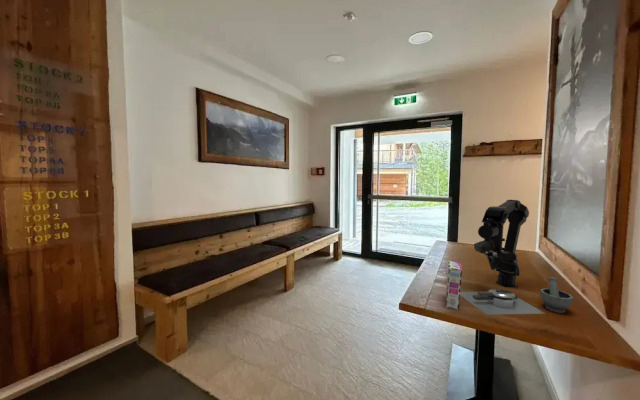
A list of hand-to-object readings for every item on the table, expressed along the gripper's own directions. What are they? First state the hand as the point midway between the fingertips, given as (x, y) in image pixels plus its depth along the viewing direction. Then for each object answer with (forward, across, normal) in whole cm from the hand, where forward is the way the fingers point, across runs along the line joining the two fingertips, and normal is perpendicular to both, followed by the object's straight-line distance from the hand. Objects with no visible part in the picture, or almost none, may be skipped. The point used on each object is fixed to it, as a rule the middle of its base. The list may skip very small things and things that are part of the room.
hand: (492, 269), depth 119 cm
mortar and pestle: (+12, +15, +15) cm, 24 cm away
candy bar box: (+11, +8, -24) cm, 27 cm away
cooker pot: (+11, +9, -6) cm, 15 cm away
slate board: (+11, +8, -4) cm, 15 cm away
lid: (+7, +10, -6) cm, 13 cm away
